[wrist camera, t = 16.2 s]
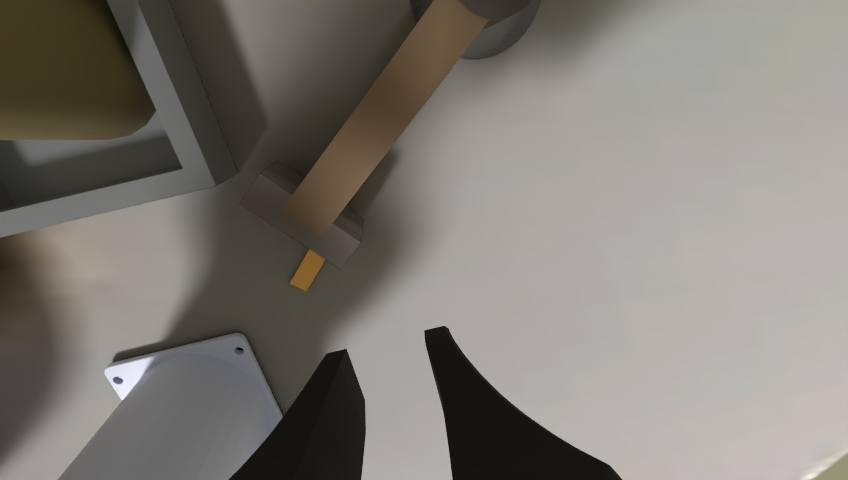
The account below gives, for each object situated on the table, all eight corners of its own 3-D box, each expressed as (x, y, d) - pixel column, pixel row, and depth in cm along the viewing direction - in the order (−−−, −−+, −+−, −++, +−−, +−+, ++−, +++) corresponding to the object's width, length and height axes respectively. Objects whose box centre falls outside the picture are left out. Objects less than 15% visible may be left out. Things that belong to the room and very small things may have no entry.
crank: (462, -103, 16) (481, -148, 13) (545, -11, 18) (581, -31, 15) (261, 184, 20) (238, 204, 17) (345, 242, 21) (339, 269, 18)
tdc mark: (315, 238, 21) (315, 239, 21) (332, 246, 22) (332, 248, 21) (290, 281, 22) (289, 283, 22) (306, 289, 22) (306, 291, 22)
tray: (237, 172, 20) (216, 186, 17) (18, 224, 20) (-38, 246, 17) (128, -100, 16) (78, -137, 13) (-151, -36, 16) (-258, -60, 13)
